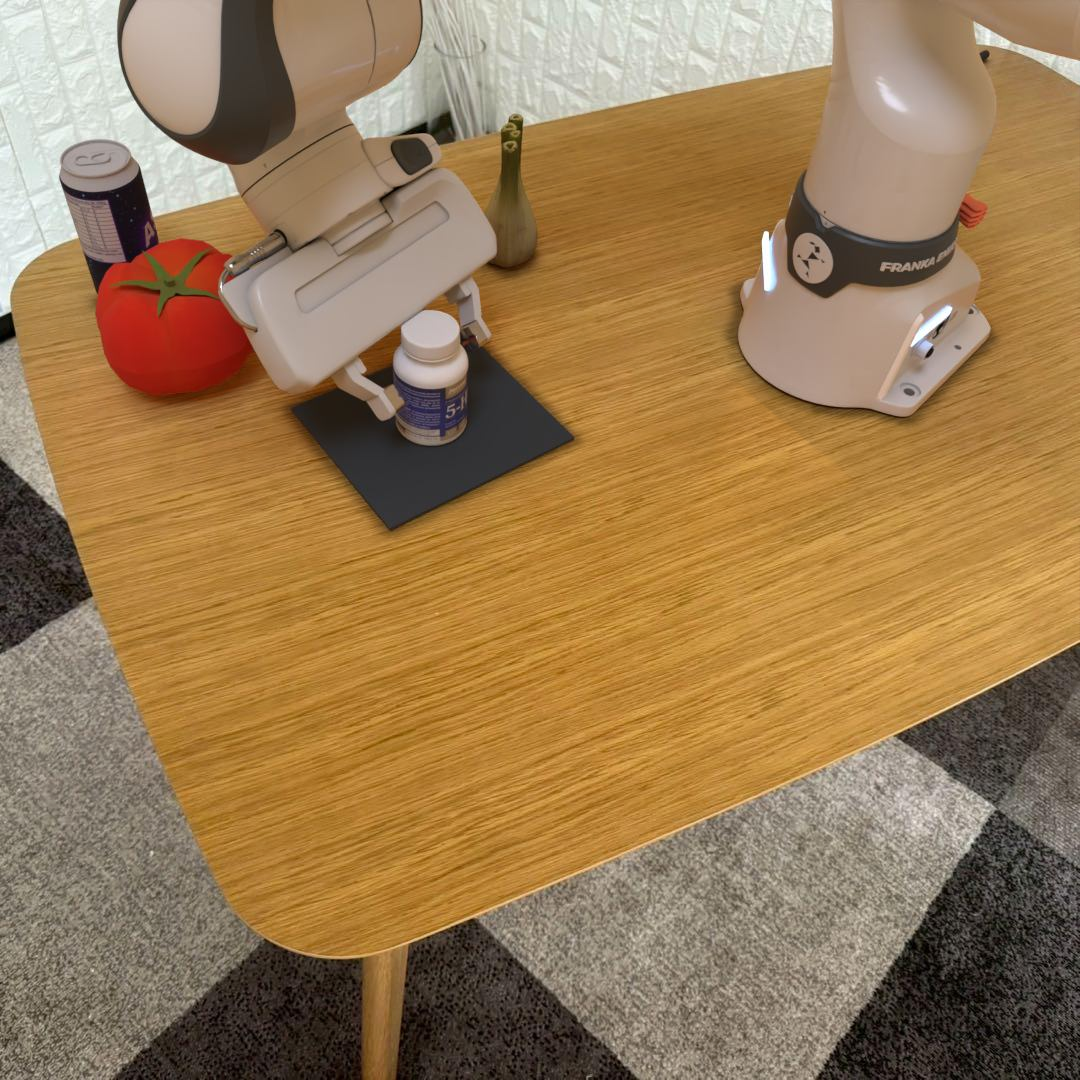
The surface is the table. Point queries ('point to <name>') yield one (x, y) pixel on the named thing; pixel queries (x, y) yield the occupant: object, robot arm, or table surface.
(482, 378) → the mat
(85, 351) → the table surface
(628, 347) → the table surface
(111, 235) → the beverage can
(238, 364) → the tomato
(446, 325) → the pill bottle
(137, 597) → the table surface
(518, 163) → the fennel bulb
